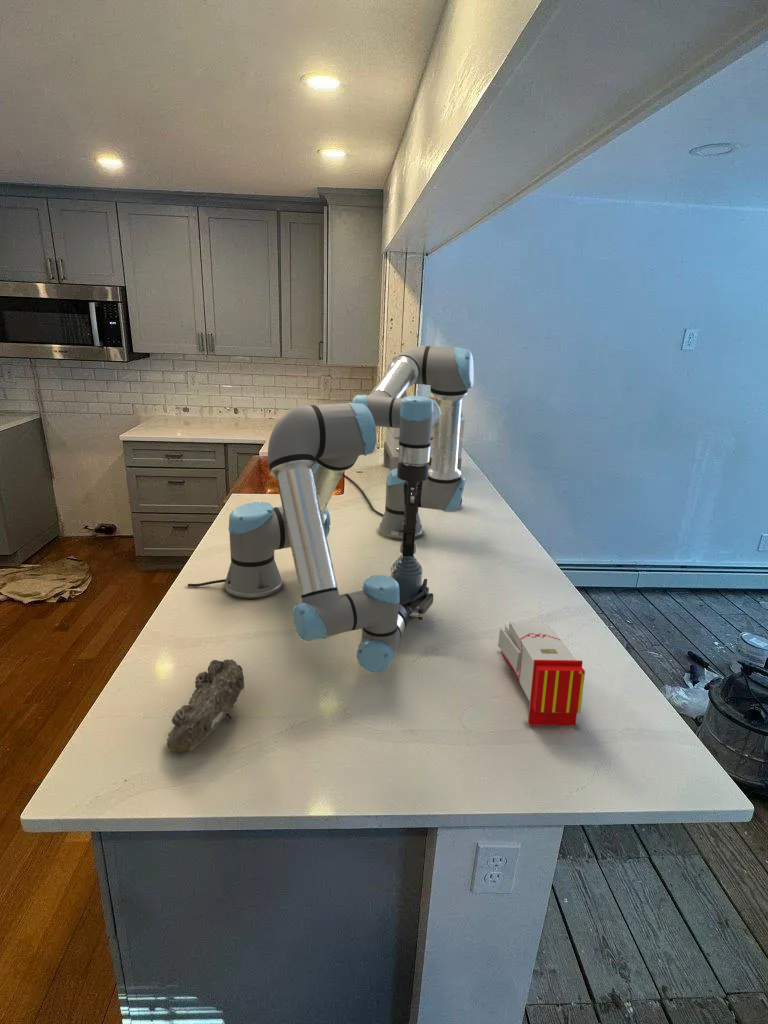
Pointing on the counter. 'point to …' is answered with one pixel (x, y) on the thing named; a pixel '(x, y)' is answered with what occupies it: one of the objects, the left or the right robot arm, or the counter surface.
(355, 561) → the counter surface
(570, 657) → the toy
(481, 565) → the counter surface
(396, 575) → the bottle
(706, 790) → the counter surface
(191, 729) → the fossil
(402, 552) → the cap
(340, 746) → the counter surface
